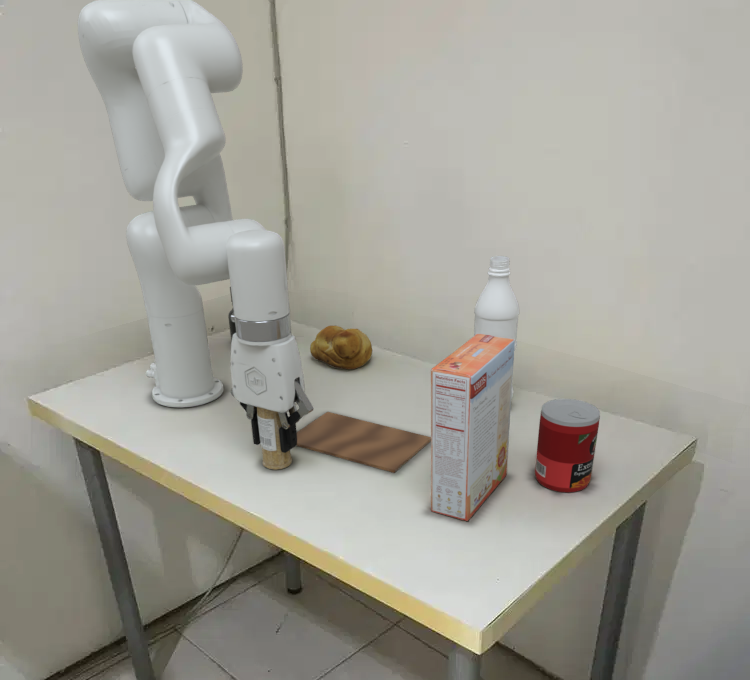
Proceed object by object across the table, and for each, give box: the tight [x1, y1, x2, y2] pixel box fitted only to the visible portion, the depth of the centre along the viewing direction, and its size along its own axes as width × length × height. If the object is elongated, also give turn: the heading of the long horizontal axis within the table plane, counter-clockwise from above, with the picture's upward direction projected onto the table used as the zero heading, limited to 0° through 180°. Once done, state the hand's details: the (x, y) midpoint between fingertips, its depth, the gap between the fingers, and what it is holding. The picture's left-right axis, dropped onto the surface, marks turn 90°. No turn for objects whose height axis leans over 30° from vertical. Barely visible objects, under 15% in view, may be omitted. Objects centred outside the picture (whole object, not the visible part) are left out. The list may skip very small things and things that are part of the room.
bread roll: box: [309, 325, 373, 370], centre depth 149 cm, size 13×10×8 cm
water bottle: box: [473, 255, 520, 401], centre depth 126 cm, size 7×7×25 cm
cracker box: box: [430, 334, 515, 522], centre depth 102 cm, size 14×6×21 cm, turn 150°
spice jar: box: [257, 407, 293, 471], centre depth 113 cm, size 5×5×13 cm
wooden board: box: [295, 411, 431, 474], centre depth 122 cm, size 20×12×1 cm, turn 59°
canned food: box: [534, 398, 601, 493], centre depth 108 cm, size 8×8×11 cm
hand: (275, 443), depth 115 cm, fingers closed on spice jar, 4 cm apart
